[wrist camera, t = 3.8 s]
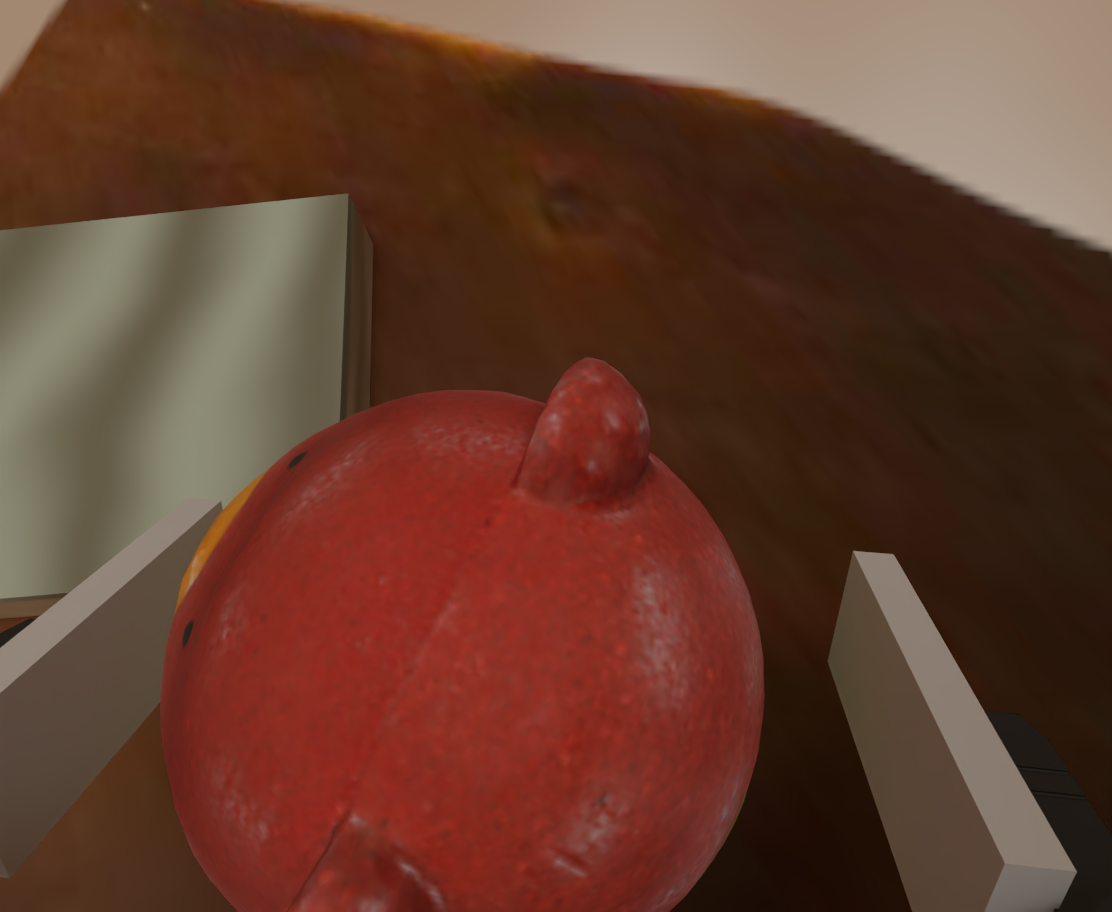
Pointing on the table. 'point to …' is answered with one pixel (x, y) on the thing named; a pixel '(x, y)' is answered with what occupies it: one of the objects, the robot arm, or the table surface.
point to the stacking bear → (464, 666)
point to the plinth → (165, 370)
